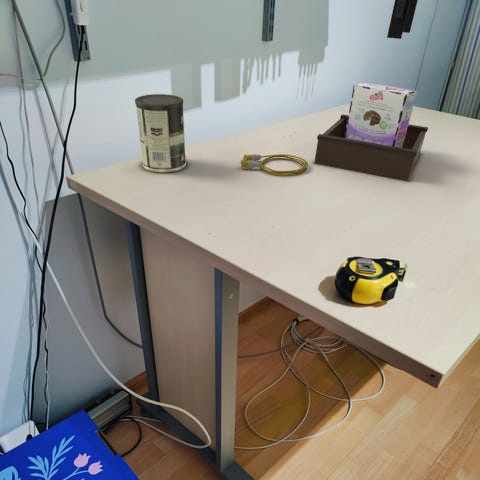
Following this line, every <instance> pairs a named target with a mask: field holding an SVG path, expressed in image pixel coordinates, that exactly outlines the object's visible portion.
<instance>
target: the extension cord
mask: <svg viewBox="0 0 480 480" xmlns="http://www.w3.org/2000/svg"><path fill="white" fill-rule="evenodd" d="M242 157H243V160H241V161H240V162H241V164H240V167H241V168H245V169H246V168H247V169H255V168H256V169H257V168H260V169H261V170H262V171H264V172H266V173H268V174H270V175H274V176H280V177H281V176H282V177H283V176H284V177H285V176H286V177H287V176H295V175H298V174H301V173H303V172H305V171H306V169H307V168H308V167H309V162H308V161H307V160H306V159H304V158H302V157H300V156H297V155H292V154H269V155H261V154H255V153H251V154H244V155H243V156H242ZM262 158H264V159H263V160H261V159H262ZM260 160H261V162H260ZM273 160H286V161H292V162H295V163H298V164H300V165H301V166H302V167H301V168H298V169H293V170H292V169H291V170H276V169H272V168H270V167H267V166H266V165H263V164H264V163H266V162H269V161H273Z"/></svg>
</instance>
